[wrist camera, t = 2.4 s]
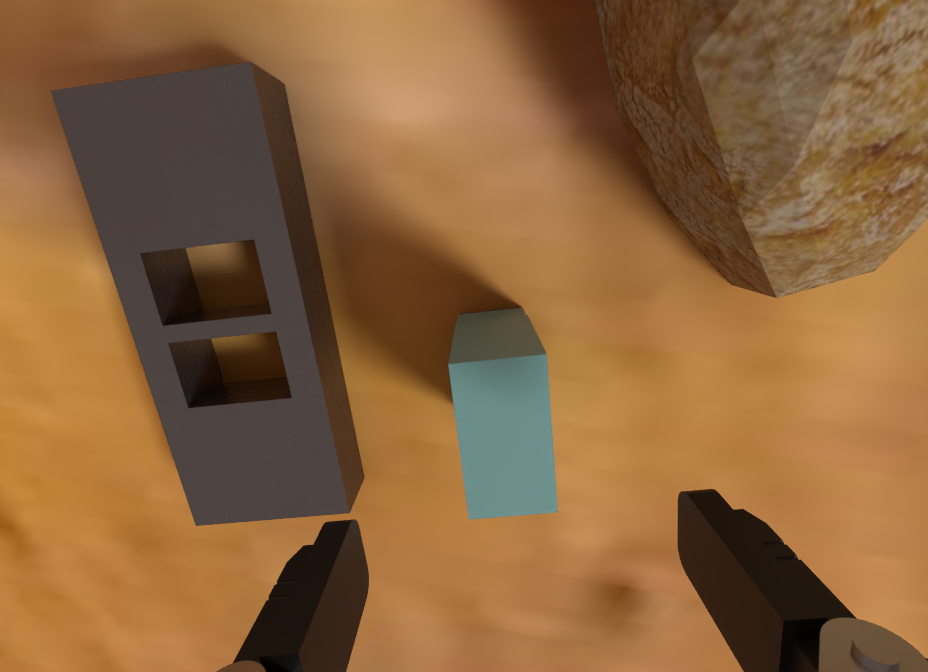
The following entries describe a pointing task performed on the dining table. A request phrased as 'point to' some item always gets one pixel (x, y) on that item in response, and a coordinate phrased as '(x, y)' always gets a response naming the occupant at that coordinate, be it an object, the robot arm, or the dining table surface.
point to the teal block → (502, 414)
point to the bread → (778, 128)
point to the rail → (175, 294)
